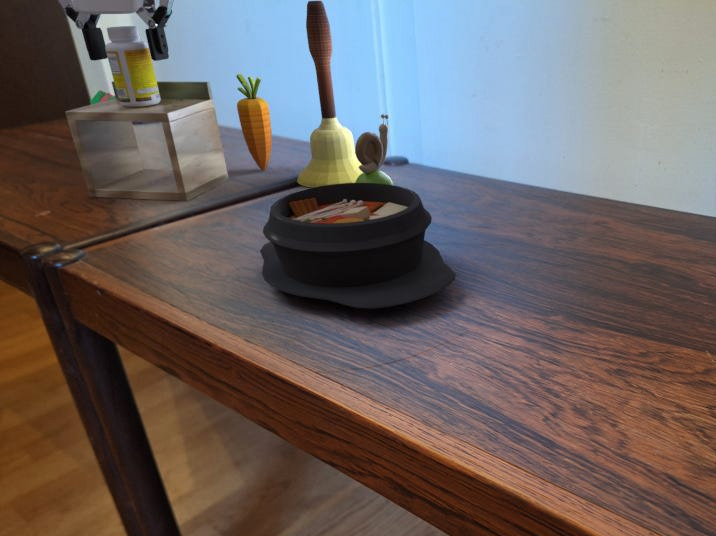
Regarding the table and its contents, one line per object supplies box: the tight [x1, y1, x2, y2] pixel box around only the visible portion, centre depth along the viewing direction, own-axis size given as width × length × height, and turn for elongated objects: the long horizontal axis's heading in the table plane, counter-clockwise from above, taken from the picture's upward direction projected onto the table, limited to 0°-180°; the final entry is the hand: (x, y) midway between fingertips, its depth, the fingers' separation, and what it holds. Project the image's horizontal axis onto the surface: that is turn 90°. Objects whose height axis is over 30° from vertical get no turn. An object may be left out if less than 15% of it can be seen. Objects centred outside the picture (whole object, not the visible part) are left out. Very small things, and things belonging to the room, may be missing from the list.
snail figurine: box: [354, 113, 395, 186], centre depth 93 cm, size 5×6×12 cm
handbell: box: [296, 0, 363, 188], centre depth 105 cm, size 12×12×25 cm
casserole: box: [259, 183, 457, 310], centre depth 72 cm, size 25×19×8 cm
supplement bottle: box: [105, 25, 161, 107], centre depth 99 cm, size 6×6×10 cm
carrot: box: [235, 73, 272, 172], centre depth 112 cm, size 5×5×15 cm
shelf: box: [64, 80, 229, 202], centre depth 104 cm, size 16×12×15 cm
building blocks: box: [90, 89, 144, 124], centre depth 155 cm, size 8×8×12 cm
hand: (130, 59), depth 98 cm, fingers open, 9 cm apart
